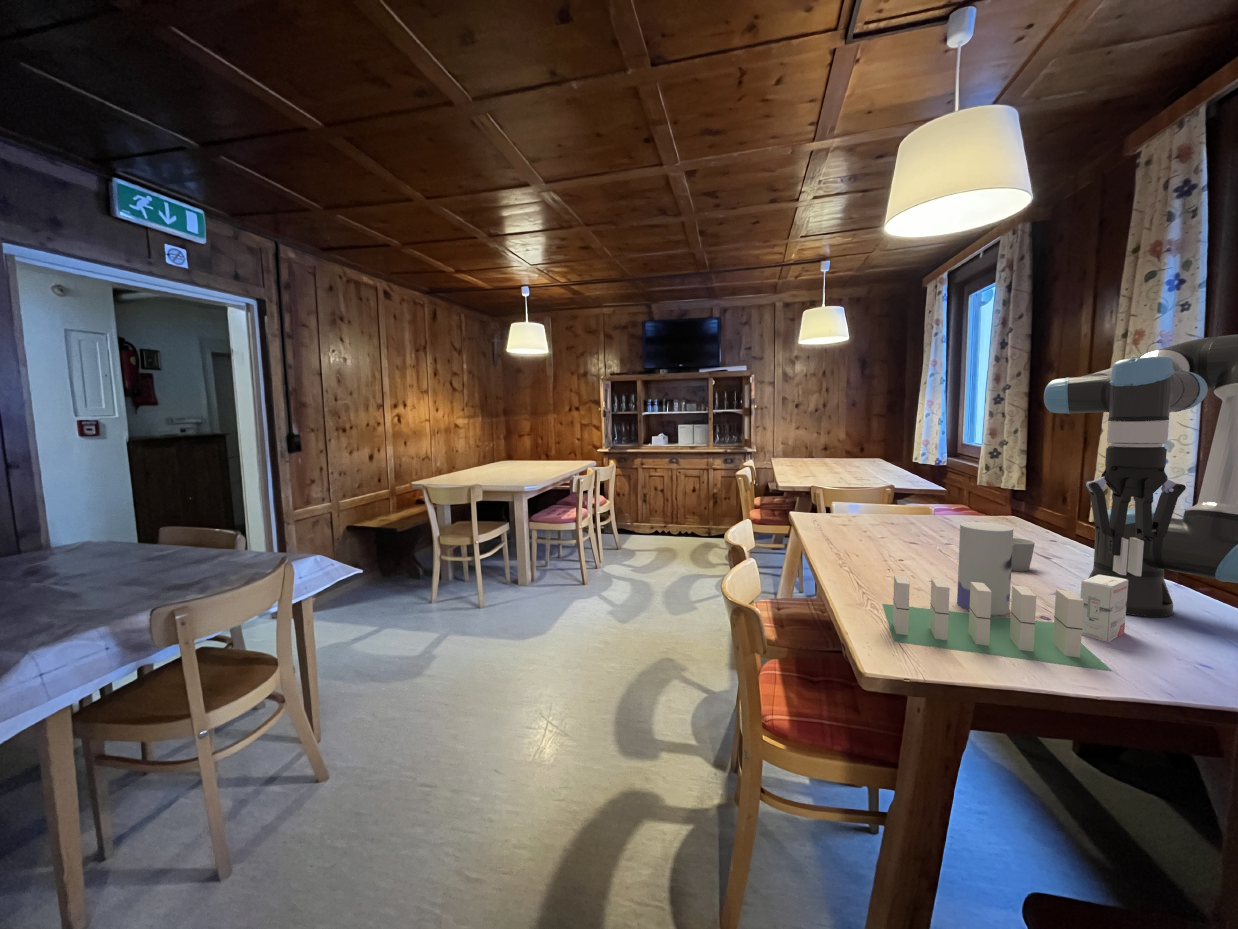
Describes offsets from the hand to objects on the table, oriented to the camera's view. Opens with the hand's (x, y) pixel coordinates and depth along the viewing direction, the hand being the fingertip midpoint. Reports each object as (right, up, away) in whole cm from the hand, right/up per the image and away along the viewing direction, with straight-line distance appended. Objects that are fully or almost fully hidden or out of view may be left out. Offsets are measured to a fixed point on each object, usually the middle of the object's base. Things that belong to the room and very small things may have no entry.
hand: (1126, 573), depth 90 cm
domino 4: (-14, -16, +7) cm, 22 cm away
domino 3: (-20, -16, +10) cm, 27 cm away
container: (-7, -14, +27) cm, 31 cm away
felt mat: (-17, -16, +13) cm, 27 cm away
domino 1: (-33, -15, +15) cm, 39 cm away
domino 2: (-26, -16, +13) cm, 33 cm away
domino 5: (-7, -16, +5) cm, 18 cm away
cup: (+24, -11, +56) cm, 62 cm away
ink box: (+7, -16, +12) cm, 21 cm away
